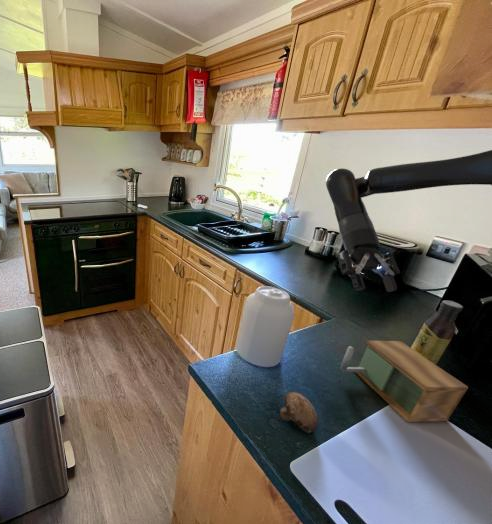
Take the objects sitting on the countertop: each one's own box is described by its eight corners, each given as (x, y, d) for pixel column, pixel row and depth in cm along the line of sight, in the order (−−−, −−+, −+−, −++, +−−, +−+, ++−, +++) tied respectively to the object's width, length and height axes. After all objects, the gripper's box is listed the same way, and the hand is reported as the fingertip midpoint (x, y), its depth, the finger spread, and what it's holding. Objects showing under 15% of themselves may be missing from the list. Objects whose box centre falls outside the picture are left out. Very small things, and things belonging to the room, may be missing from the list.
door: (356, 390, 70) (368, 363, 67) (334, 368, 77) (344, 342, 74) (383, 390, 71) (396, 363, 68) (359, 368, 78) (370, 343, 75)
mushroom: (268, 404, 62) (293, 390, 59) (278, 397, 68) (301, 384, 65) (294, 444, 58) (322, 431, 55) (302, 432, 64) (327, 420, 61)
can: (258, 337, 91) (272, 279, 84) (290, 363, 80) (310, 299, 73) (226, 344, 86) (238, 284, 79) (255, 373, 75) (273, 306, 68)
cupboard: (407, 421, 64) (426, 387, 61) (353, 370, 79) (366, 340, 76) (447, 421, 65) (468, 387, 62) (386, 370, 80) (401, 341, 76)
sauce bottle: (404, 351, 89) (432, 294, 82) (431, 359, 86) (462, 301, 79) (409, 363, 84) (440, 304, 77) (438, 372, 81) (472, 311, 74)
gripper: (343, 225, 75) (362, 284, 68) (393, 228, 76) (416, 287, 70) (324, 239, 81) (339, 294, 75) (370, 241, 83) (389, 295, 76)
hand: (376, 290), depth 72 cm, fingers open, 8 cm apart
